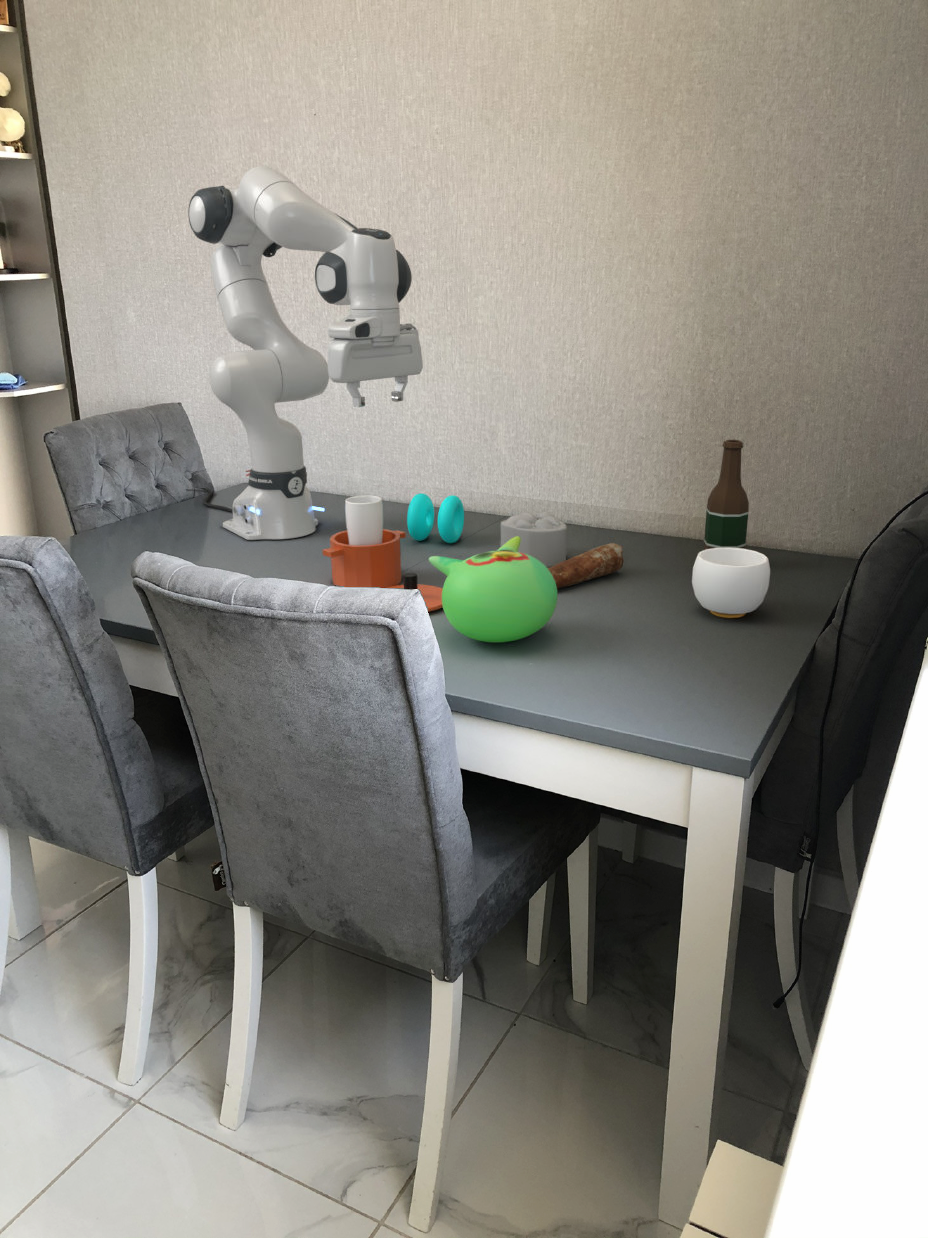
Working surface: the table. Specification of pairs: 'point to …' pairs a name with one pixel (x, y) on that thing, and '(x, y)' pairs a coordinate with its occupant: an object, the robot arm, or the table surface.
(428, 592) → the lid
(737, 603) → the cup
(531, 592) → the toy bird
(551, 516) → the lumpy-topped squat cylinder
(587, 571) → the cassava root
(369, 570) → the pot
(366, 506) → the drinking glass
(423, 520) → the donuts
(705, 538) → the beer bottle
